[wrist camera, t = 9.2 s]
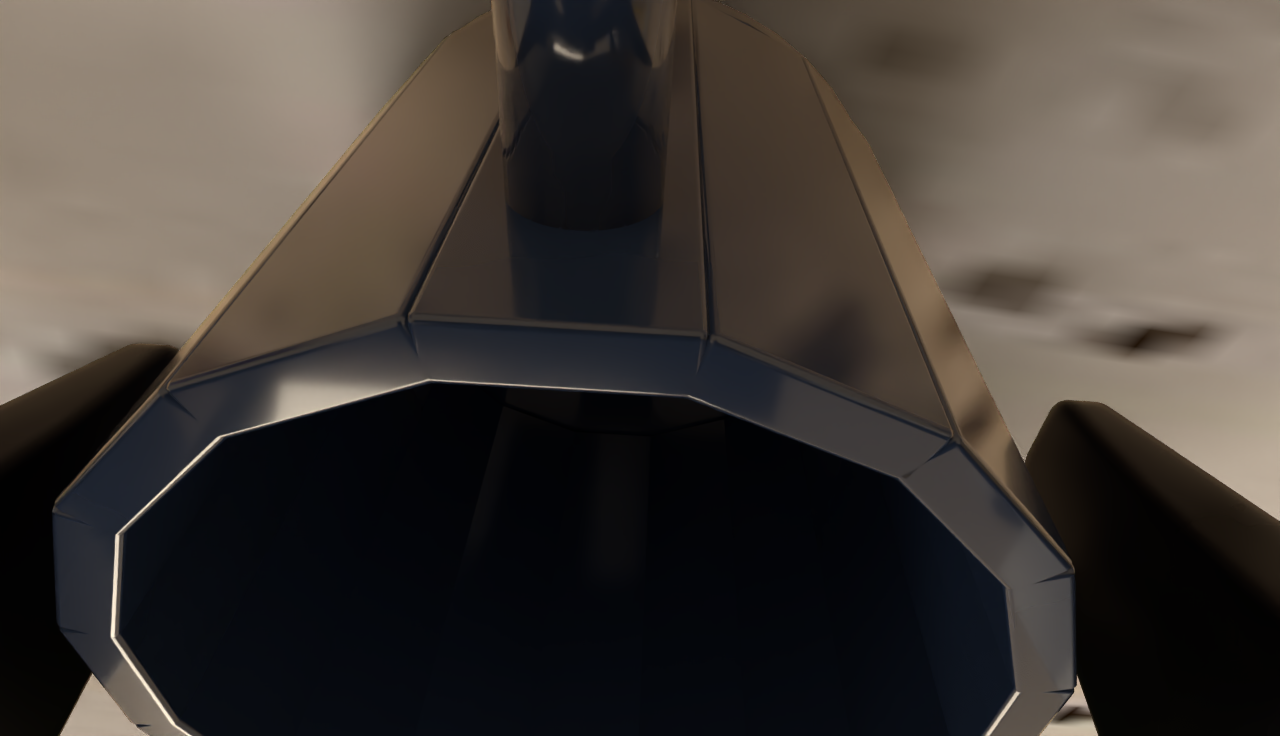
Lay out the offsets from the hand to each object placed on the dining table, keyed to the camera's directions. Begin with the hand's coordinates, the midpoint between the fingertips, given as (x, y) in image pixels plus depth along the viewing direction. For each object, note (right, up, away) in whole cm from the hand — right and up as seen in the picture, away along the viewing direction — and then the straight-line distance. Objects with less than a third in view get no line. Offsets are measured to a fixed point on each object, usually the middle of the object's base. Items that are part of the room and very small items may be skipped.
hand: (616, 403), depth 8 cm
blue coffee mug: (0, +3, +2) cm, 3 cm away
